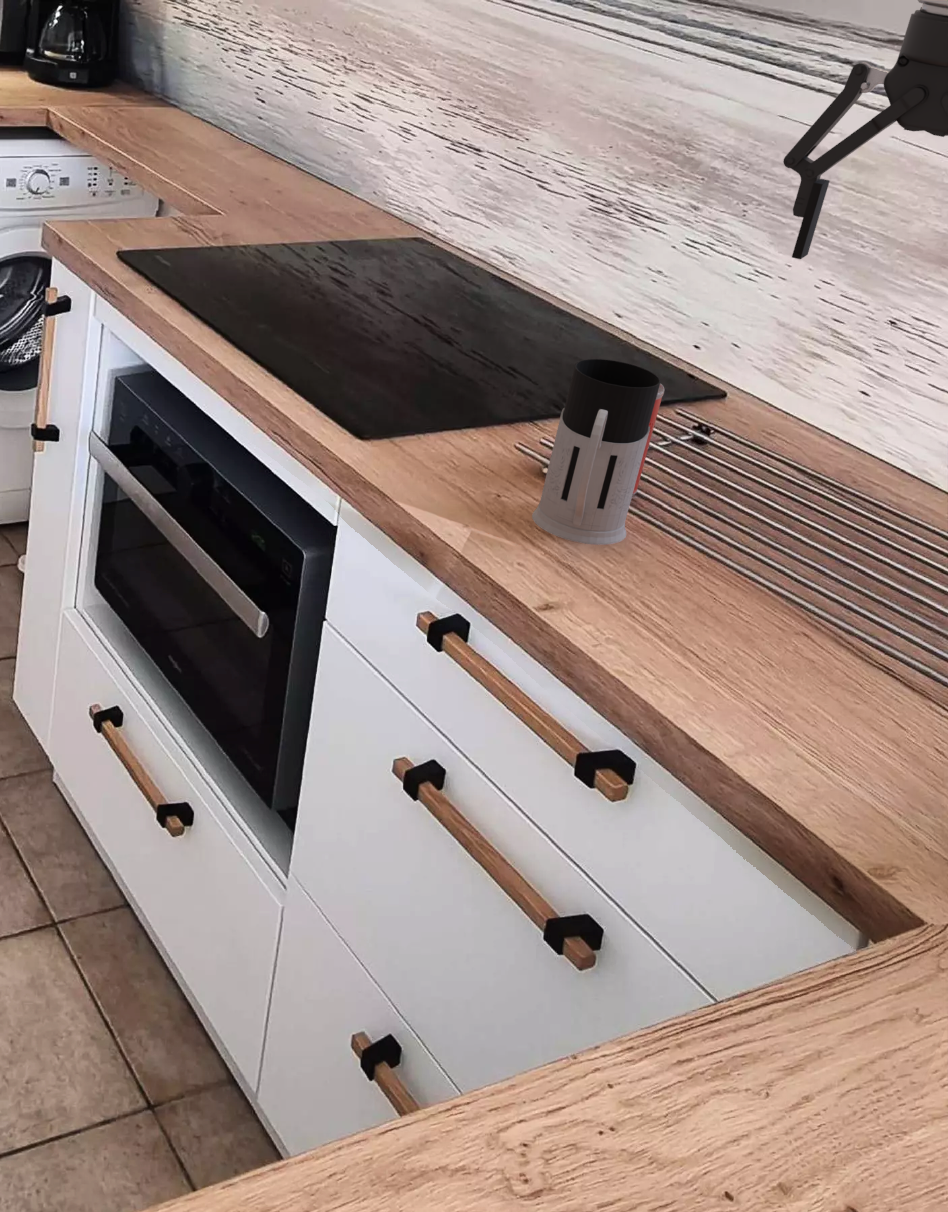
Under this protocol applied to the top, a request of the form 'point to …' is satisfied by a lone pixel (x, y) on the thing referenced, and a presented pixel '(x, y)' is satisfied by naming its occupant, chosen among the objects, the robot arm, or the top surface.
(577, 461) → the glass holder
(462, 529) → the top surface
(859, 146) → the robot arm
